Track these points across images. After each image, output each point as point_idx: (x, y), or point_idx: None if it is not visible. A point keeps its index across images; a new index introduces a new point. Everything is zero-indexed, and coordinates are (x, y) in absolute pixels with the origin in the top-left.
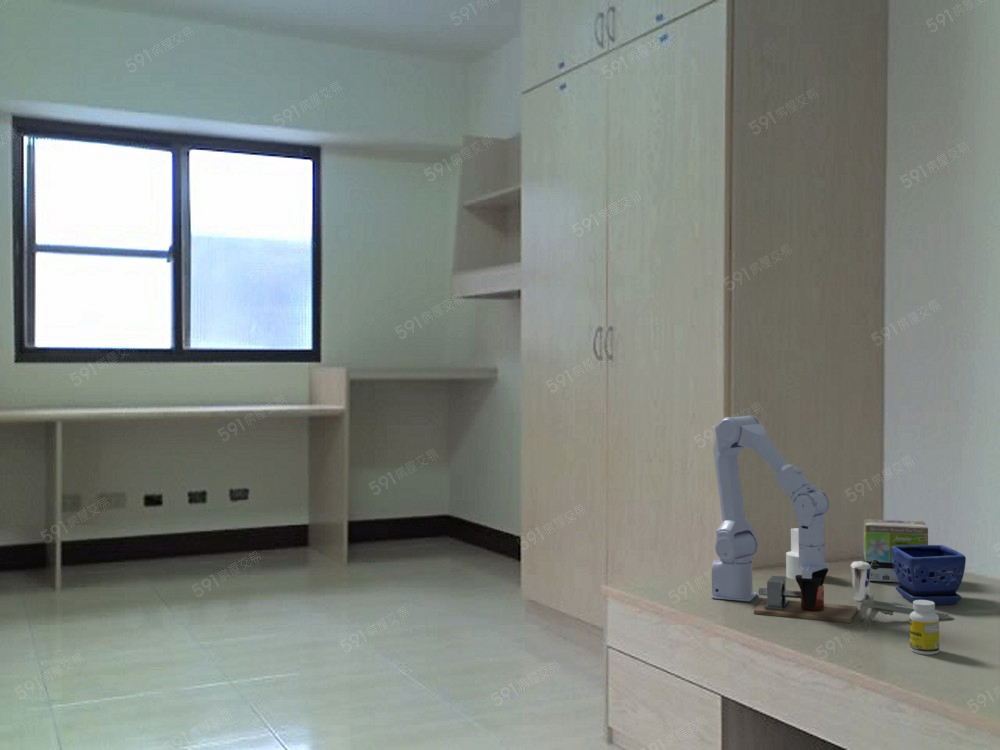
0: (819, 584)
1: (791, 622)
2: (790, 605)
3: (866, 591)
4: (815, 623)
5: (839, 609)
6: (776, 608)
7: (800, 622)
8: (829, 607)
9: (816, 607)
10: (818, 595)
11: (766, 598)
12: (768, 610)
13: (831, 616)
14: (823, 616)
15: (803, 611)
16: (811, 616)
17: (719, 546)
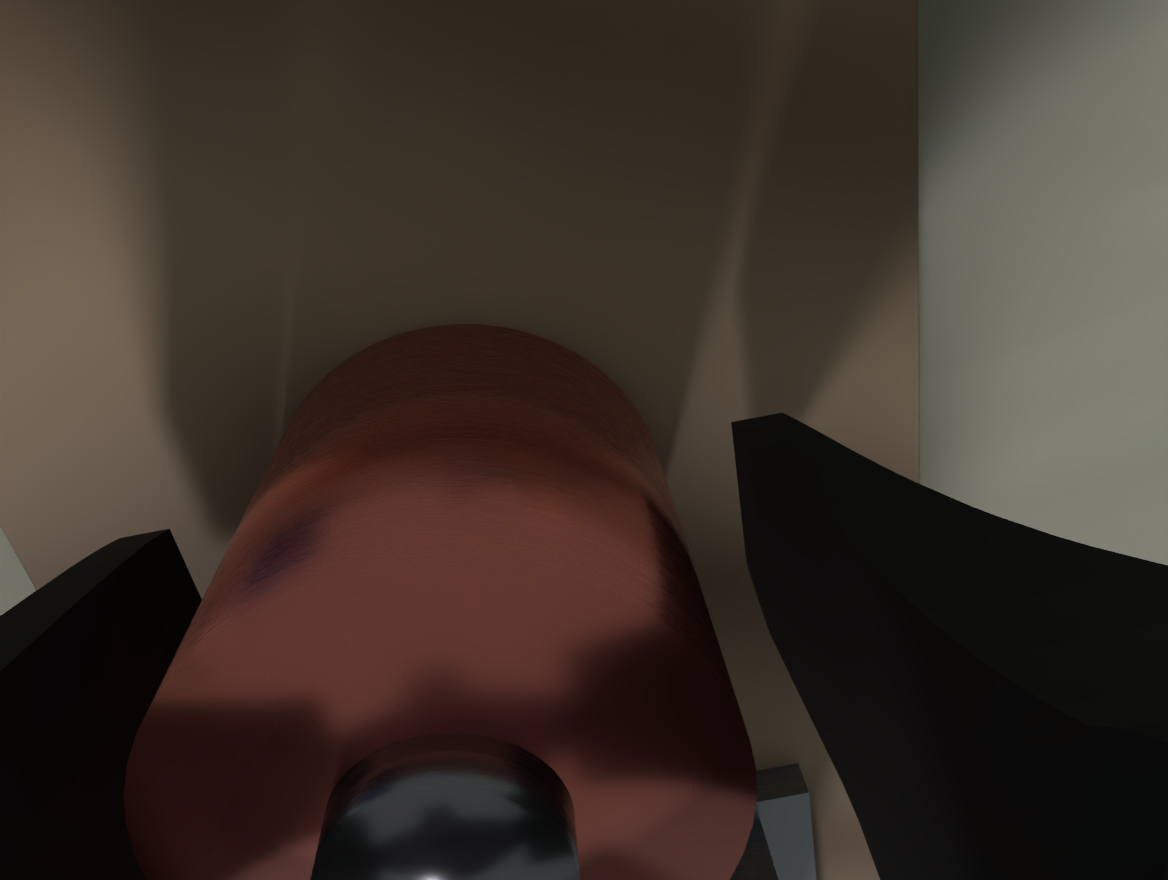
0: (986, 632)
1: (1157, 505)
2: None
3: None
4: (1121, 199)
5: (199, 67)
6: (808, 837)
7: (1123, 409)
8: (182, 298)
9: (632, 414)
10: (630, 505)
11: None
12: (858, 871)
13: (837, 24)
14: (892, 166)
15: (709, 547)
16: (908, 356)
17: None
